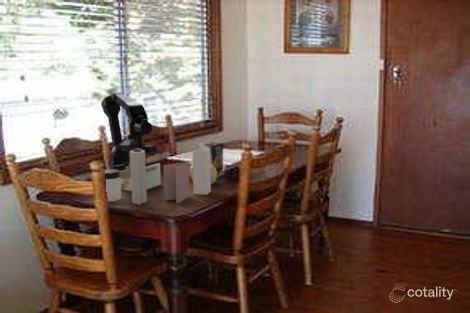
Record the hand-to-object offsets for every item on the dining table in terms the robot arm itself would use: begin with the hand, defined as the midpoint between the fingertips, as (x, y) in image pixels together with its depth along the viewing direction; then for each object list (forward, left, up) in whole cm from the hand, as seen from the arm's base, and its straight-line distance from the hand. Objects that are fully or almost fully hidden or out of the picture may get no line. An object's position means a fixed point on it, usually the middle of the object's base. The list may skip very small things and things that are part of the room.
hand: (137, 166), depth 267 cm
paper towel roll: (+18, -22, -10) cm, 30 cm away
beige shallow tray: (-1, 0, -9) cm, 9 cm away
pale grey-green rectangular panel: (+7, 0, -9) cm, 12 cm away
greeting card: (+31, -11, -10) cm, 34 cm away
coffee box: (+19, +34, -10) cm, 40 cm away
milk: (+32, +4, -10) cm, 34 cm away
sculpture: (+24, +18, -10) cm, 32 cm away
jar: (+4, -23, -10) cm, 25 cm away
